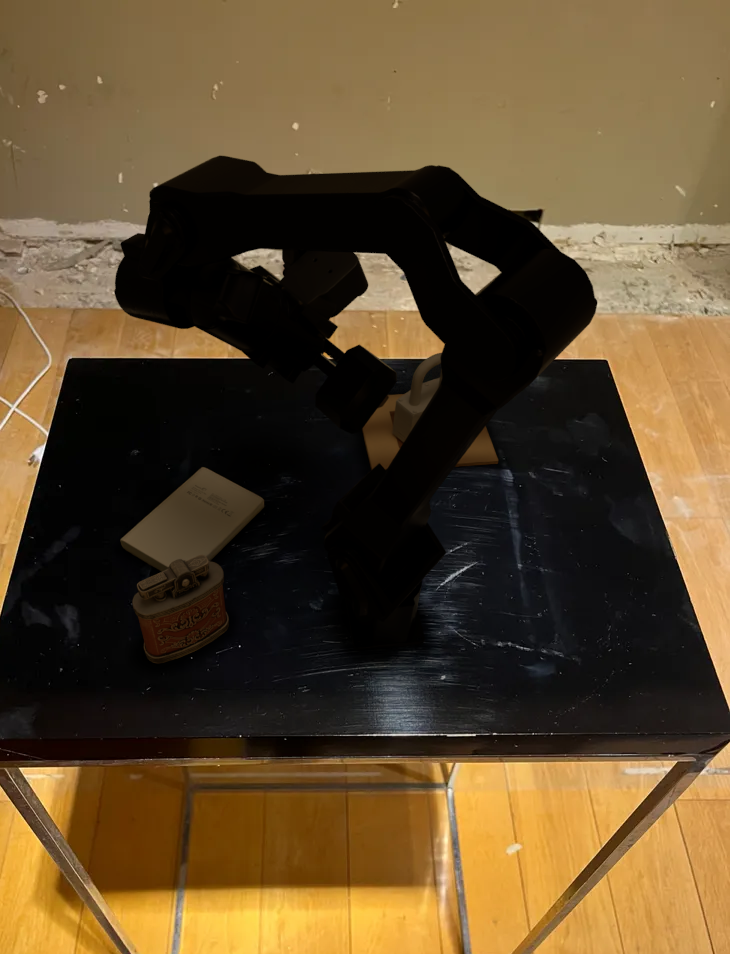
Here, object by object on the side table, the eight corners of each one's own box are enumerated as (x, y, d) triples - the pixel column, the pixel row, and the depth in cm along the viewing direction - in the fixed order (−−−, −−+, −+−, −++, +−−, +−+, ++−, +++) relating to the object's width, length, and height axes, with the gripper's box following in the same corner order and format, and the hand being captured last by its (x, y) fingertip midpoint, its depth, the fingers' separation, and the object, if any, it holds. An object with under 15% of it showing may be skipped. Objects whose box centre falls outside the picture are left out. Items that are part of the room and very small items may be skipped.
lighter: (218, 605, 77) (209, 535, 69) (235, 630, 75) (228, 562, 68) (138, 643, 74) (120, 575, 66) (154, 671, 72) (138, 604, 65)
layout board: (497, 463, 90) (498, 459, 90) (371, 472, 89) (372, 468, 88) (471, 393, 98) (472, 389, 97) (355, 400, 96) (355, 396, 96)
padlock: (411, 451, 90) (422, 379, 83) (388, 431, 92) (396, 358, 85) (459, 425, 93) (473, 353, 85) (435, 406, 95) (447, 334, 87)
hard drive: (122, 549, 81) (203, 475, 88) (186, 587, 78) (264, 508, 85) (119, 538, 80) (201, 464, 87) (184, 577, 77) (264, 497, 84)
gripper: (389, 282, 58) (475, 354, 71) (242, 177, 68) (342, 257, 81) (298, 410, 61) (397, 457, 74) (170, 292, 70) (278, 352, 83)
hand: (353, 375), depth 78 cm, fingers open, 9 cm apart
